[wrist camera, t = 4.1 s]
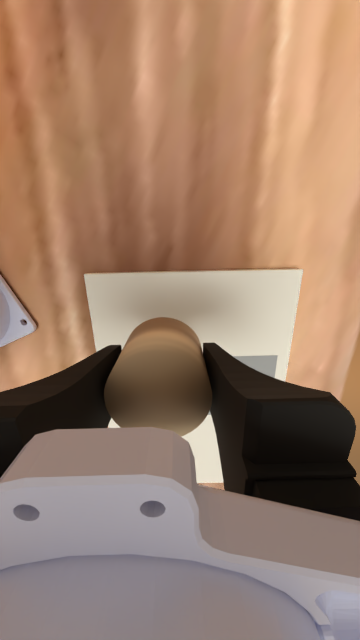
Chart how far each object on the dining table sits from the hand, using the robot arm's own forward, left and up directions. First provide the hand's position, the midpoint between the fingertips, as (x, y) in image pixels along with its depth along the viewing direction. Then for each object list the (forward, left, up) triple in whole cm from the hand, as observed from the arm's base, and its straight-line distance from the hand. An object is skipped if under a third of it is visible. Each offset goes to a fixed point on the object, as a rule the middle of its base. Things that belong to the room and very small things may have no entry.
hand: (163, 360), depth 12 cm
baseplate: (+7, -1, -7) cm, 10 cm away
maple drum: (0, 0, -1) cm, 1 cm away
